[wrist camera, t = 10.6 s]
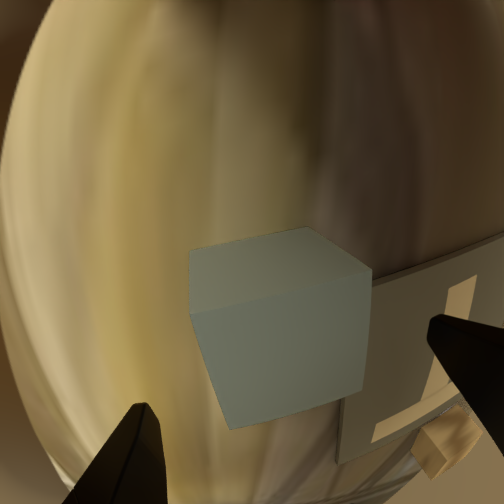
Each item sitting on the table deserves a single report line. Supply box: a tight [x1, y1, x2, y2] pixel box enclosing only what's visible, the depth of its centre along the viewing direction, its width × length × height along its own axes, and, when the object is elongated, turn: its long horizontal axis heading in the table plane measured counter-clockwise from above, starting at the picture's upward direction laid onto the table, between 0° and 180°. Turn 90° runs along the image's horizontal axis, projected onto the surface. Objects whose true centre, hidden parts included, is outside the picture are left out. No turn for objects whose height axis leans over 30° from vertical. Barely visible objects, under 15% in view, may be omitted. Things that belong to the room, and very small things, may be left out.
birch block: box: [410, 404, 483, 480], centre depth 21 cm, size 6×6×6 cm
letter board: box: [335, 232, 504, 466], centre depth 17 cm, size 18×18×1 cm
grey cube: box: [189, 227, 372, 430], centre depth 10 cm, size 5×5×5 cm
